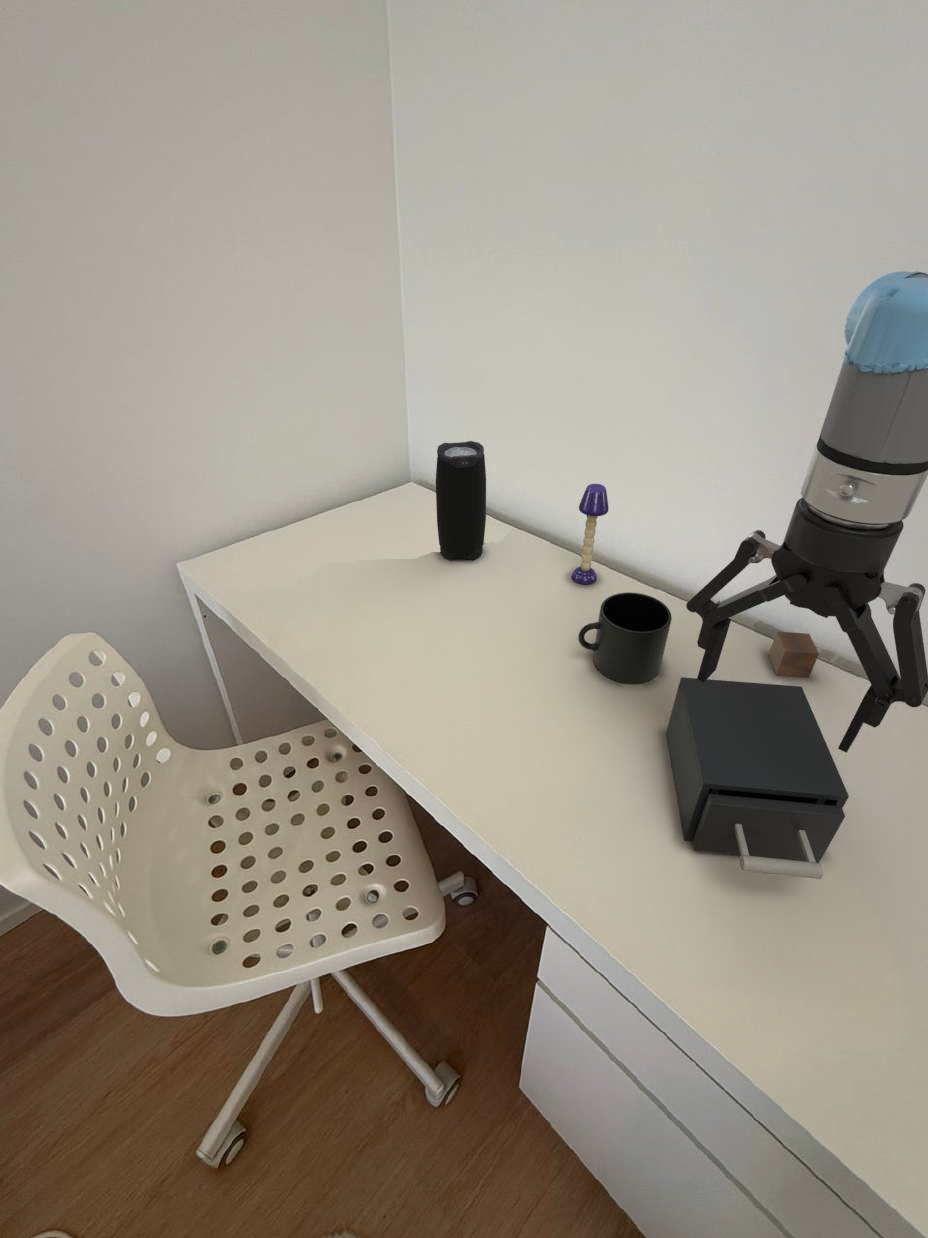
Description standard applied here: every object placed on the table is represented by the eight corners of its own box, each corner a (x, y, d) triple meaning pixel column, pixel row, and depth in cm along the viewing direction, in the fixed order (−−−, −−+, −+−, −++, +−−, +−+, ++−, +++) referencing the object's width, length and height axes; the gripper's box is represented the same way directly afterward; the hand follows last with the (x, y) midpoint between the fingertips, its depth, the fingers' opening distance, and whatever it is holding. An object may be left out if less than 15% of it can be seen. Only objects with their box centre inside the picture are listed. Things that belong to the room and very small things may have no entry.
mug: (571, 641, 96) (577, 591, 91) (652, 642, 96) (663, 592, 91) (578, 684, 89) (585, 632, 83) (666, 685, 89) (679, 633, 83)
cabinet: (817, 854, 68) (849, 796, 62) (684, 841, 69) (703, 783, 63) (778, 743, 80) (801, 686, 74) (665, 733, 82) (680, 676, 76)
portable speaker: (480, 537, 122) (482, 436, 110) (488, 563, 114) (491, 458, 102) (435, 540, 121) (431, 439, 109) (440, 566, 113) (437, 461, 101)
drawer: (835, 909, 62) (864, 862, 57) (702, 894, 63) (720, 848, 59) (781, 755, 77) (801, 708, 73) (675, 746, 79) (688, 699, 74)
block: (799, 657, 93) (809, 633, 91) (808, 677, 90) (819, 653, 87) (768, 655, 94) (776, 631, 91) (775, 675, 90) (785, 651, 88)
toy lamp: (568, 570, 112) (578, 480, 102) (595, 569, 112) (607, 480, 102) (573, 585, 108) (584, 494, 98) (601, 584, 109) (614, 493, 99)
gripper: (678, 476, 54) (638, 667, 67) (1042, 589, 41) (904, 802, 53) (718, 450, 59) (673, 634, 71) (1058, 545, 45) (928, 751, 58)
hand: (772, 706), depth 62 cm, fingers open, 13 cm apart
